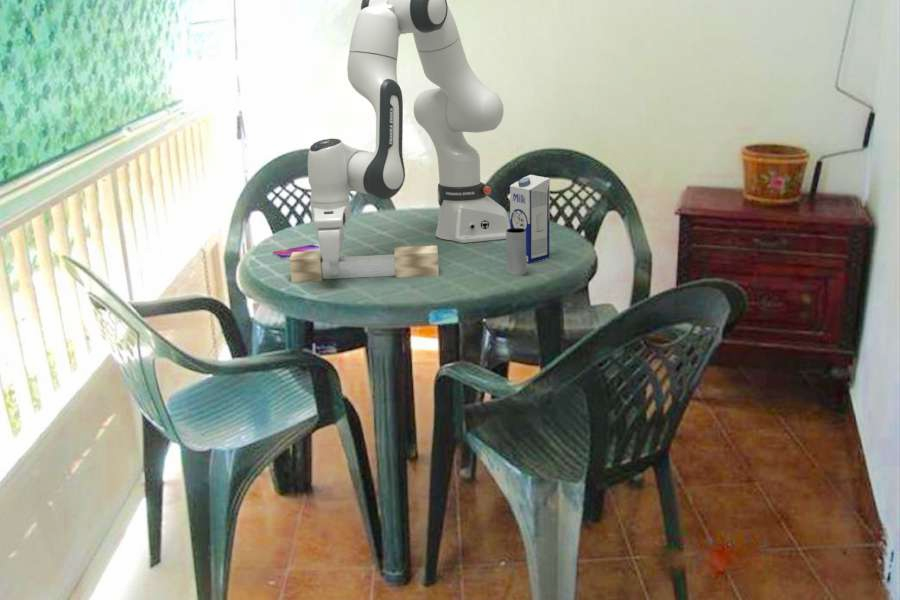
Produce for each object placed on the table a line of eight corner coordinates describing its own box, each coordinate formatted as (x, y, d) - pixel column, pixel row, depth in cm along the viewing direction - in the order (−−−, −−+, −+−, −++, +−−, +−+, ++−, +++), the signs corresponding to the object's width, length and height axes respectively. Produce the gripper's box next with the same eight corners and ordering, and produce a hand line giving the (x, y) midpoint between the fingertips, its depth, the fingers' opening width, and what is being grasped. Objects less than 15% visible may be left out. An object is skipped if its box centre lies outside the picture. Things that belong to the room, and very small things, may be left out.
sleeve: (437, 268, 201) (436, 245, 199) (438, 275, 195) (437, 252, 193) (395, 270, 201) (394, 247, 199) (395, 277, 195) (394, 254, 193)
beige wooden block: (324, 273, 200) (322, 250, 198) (322, 281, 194) (320, 258, 192) (294, 274, 200) (292, 252, 198) (291, 283, 193) (289, 259, 192)
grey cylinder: (520, 277, 192) (520, 233, 189) (503, 274, 195) (502, 231, 191) (529, 271, 196) (529, 228, 193) (512, 269, 198) (511, 226, 195)
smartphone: (335, 248, 220) (281, 258, 212) (335, 251, 220) (282, 261, 213) (323, 242, 226) (271, 251, 218) (324, 245, 226) (271, 254, 218)
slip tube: (412, 269, 200) (411, 253, 198) (412, 274, 196) (412, 258, 195) (302, 275, 198) (301, 258, 197) (300, 280, 195) (299, 263, 193)
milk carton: (549, 258, 206) (550, 177, 200) (529, 263, 202) (529, 181, 196) (530, 252, 211) (530, 173, 205) (510, 257, 208) (509, 177, 201)
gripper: (320, 202, 202) (325, 258, 206) (312, 222, 182) (318, 283, 187) (347, 201, 202) (351, 257, 206) (342, 221, 183) (346, 282, 187)
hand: (335, 269), depth 196 cm, fingers closed on slip tube, 4 cm apart
